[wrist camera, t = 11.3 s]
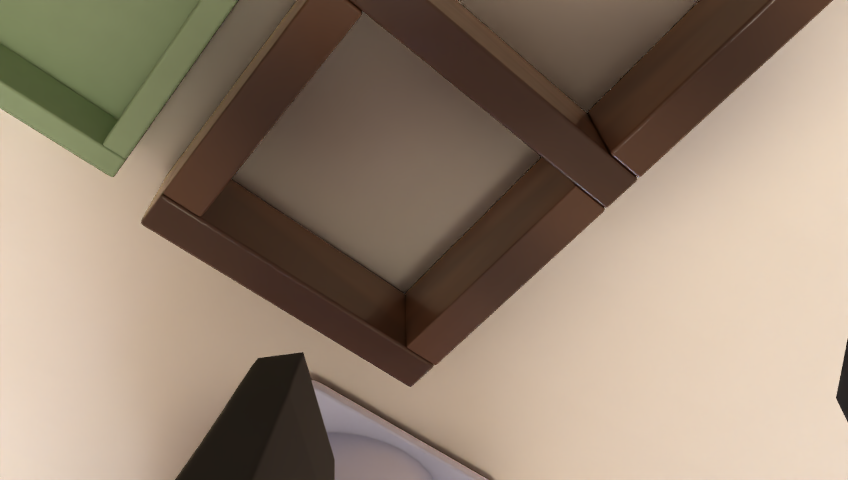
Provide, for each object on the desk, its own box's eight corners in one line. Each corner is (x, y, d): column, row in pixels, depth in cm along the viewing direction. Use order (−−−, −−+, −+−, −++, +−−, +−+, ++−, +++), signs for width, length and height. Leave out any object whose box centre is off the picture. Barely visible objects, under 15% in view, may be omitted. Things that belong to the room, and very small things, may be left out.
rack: (409, 332, 22) (410, 389, 20) (165, 175, 19) (138, 224, 17) (854, -97, 16) (920, -78, 14) (601, -411, 14) (637, -443, 11)
